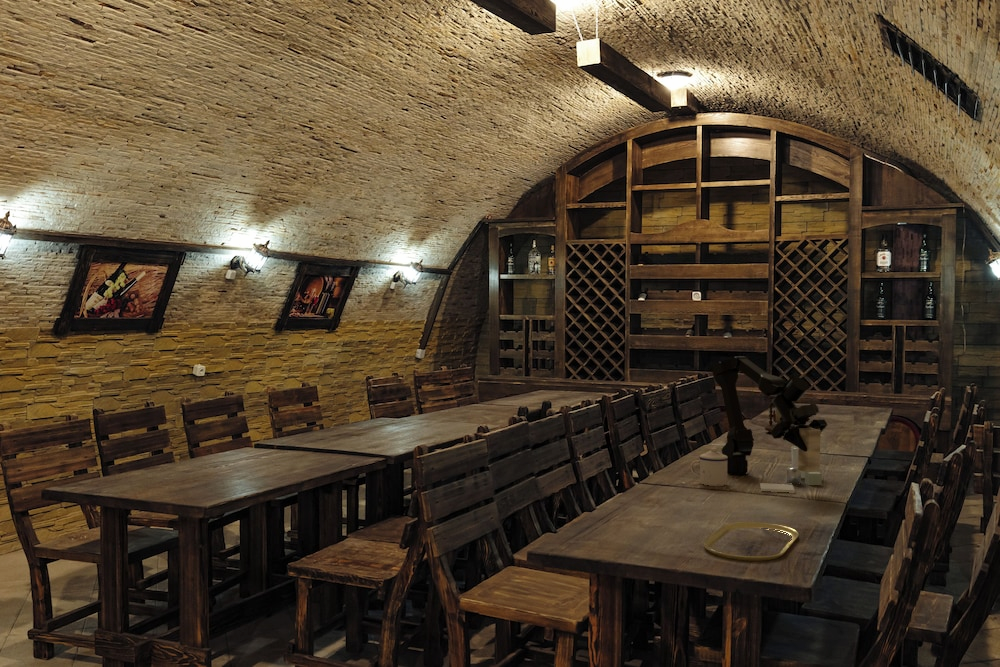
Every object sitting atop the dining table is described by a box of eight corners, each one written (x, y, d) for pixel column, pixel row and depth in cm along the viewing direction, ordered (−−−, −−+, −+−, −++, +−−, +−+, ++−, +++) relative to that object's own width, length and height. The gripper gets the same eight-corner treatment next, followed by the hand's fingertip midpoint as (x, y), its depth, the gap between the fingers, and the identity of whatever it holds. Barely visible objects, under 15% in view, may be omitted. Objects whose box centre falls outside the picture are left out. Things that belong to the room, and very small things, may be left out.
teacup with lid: (729, 482, 300) (729, 447, 299) (726, 487, 291) (726, 451, 291) (692, 479, 304) (692, 444, 303) (688, 484, 295) (688, 448, 295)
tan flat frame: (804, 533, 234) (804, 527, 234) (776, 567, 204) (776, 560, 203) (731, 524, 243) (731, 519, 243) (693, 556, 212) (693, 549, 212)
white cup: (816, 479, 306) (817, 449, 306) (792, 478, 308) (792, 448, 307) (813, 475, 314) (814, 446, 313) (789, 474, 315) (790, 445, 315)
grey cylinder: (787, 484, 297) (787, 469, 297) (786, 481, 302) (786, 466, 301) (801, 485, 296) (801, 469, 296) (800, 482, 301) (800, 467, 300)
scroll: (766, 435, 411) (767, 390, 410) (762, 430, 425) (763, 387, 424) (800, 436, 408) (801, 391, 408) (795, 431, 423) (796, 388, 422)
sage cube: (809, 485, 295) (809, 473, 295) (804, 483, 299) (804, 471, 299) (821, 485, 296) (821, 473, 295) (816, 483, 300) (816, 471, 299)
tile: (761, 491, 285) (761, 488, 285) (759, 486, 294) (759, 483, 294) (794, 493, 283) (794, 490, 283) (792, 487, 291) (792, 484, 291)
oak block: (797, 469, 286) (799, 428, 285) (808, 468, 288) (810, 427, 287) (808, 472, 282) (809, 430, 281) (819, 471, 283) (820, 429, 283)
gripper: (778, 395, 283) (802, 436, 274) (824, 393, 291) (849, 433, 281) (760, 417, 291) (783, 458, 281) (805, 415, 299) (829, 454, 289)
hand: (812, 450), depth 283 cm, fingers closed on oak block, 4 cm apart
